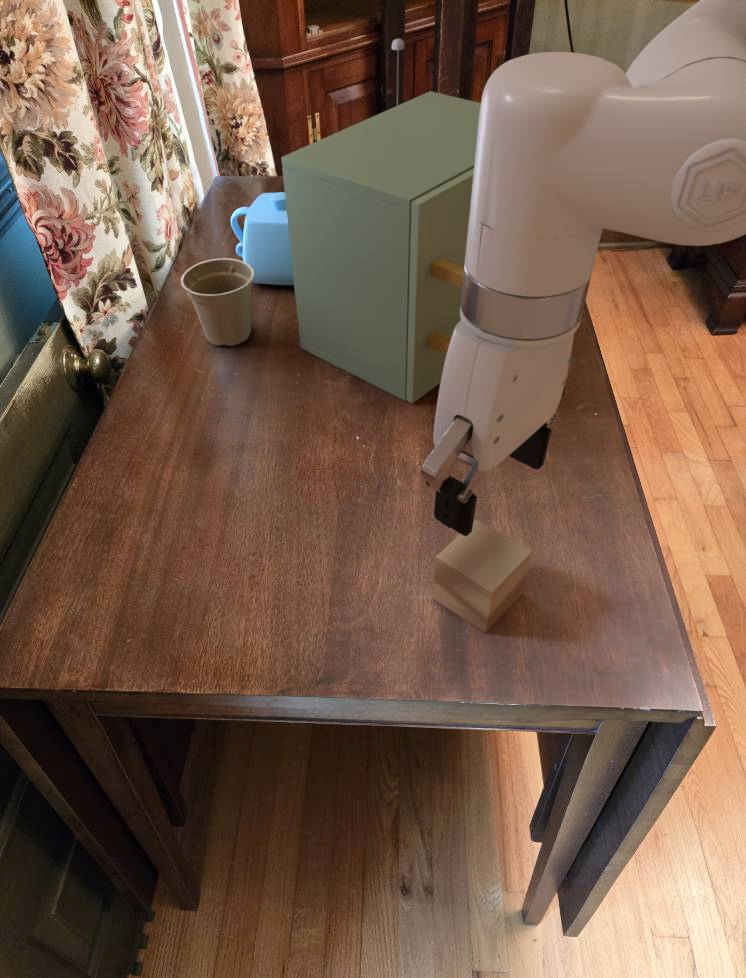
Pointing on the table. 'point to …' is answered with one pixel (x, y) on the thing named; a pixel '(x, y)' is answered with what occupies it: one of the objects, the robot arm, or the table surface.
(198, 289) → the flower pot
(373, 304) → the cupboard
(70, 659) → the table surface
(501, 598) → the block
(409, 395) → the cupboard door
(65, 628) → the table surface
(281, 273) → the teapot
